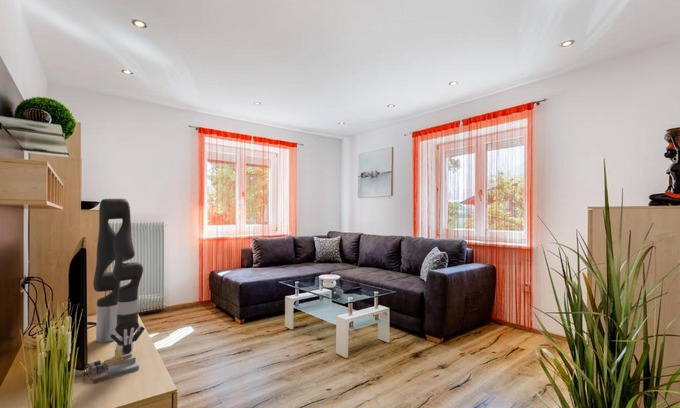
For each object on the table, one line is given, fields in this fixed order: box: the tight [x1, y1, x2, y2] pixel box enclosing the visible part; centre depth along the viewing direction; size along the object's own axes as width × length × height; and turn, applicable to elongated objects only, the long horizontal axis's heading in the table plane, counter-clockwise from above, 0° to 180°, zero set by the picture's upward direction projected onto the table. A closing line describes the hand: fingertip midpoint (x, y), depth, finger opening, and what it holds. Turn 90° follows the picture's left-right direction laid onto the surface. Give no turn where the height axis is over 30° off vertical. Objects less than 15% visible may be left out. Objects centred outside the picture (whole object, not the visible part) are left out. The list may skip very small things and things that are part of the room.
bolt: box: [103, 348, 124, 369], centre depth 135 cm, size 3×6×6 cm, turn 138°
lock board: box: [85, 352, 140, 384], centre depth 135 cm, size 14×15×4 cm
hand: (126, 353), depth 139 cm, fingers closed
